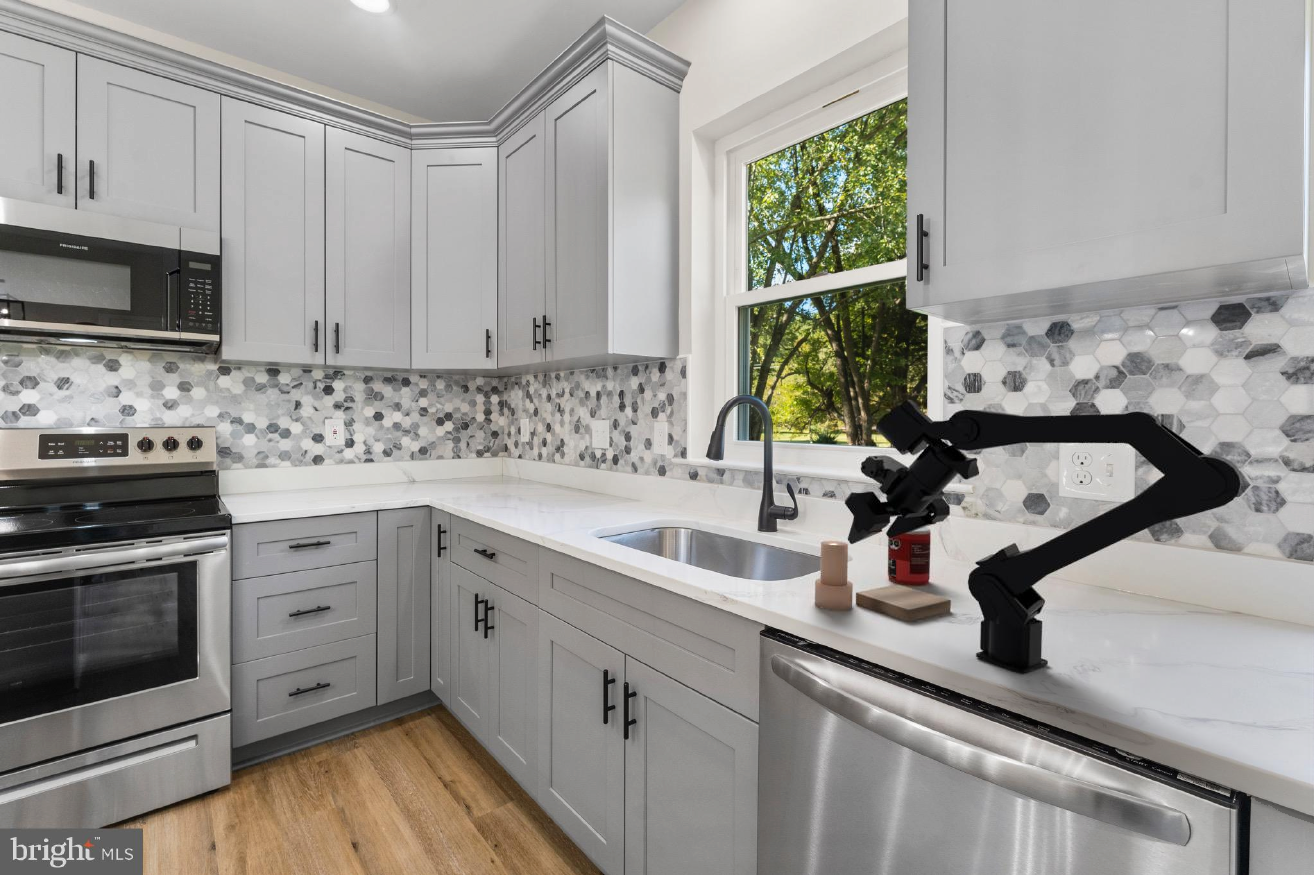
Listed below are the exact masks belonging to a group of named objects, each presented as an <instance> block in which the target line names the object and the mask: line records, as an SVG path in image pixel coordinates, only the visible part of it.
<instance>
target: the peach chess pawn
mask: <svg viewBox="0 0 1314 875" xmlns="http://www.w3.org/2000/svg"><path fill="white" fill-rule="evenodd" d="M848 555H849V544H848V543H847V542H843V541H838V540H824V541H821V542H820V578H816V580H815V581H814V605H815V604H816V605H815V606H816V607H818V608H820V607H822V608H821V609H823V608H824V609H823V610H827V609H828V610H829V611H836V612H838V611H839V612H840V611H841V612H843V611H849V610H851V609H852V608H853V590H854V589H853V588H854V587H853V586H854V584H853V583H852V582H851V581H849V580H848V574H849V573H848V568H849V567H848V562H849V560H848V558H849V556H848Z"/></svg>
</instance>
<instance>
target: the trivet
mask: <svg viewBox="0 0 1314 875" xmlns="http://www.w3.org/2000/svg"><path fill="white" fill-rule="evenodd" d="M951 602H952V600H951V599H950V598H946V597H942V596H938V595H936V594H935V595H934V594H932V593H928V592H924V591H922V590H918V589H914V588H911V587H907V586H905V585H902V584H898V583H896V584H893V585H887V586H883V587H878V588H872V589H868V590H862V591H857V592H856V593H855V604H856V605H859V606H861V607H865V608H868V609H870V610H873V611H876V612H880V613H882V614H886V615H888V616H890V617H894V618H895V619H896V618H897V619H899V620H901V621H905V622H908V623H909V622H912V621H913V622H914V621H918V620H921V619H926V618H930V617H934V616H937V615H942V614H945V613H946V614H947V613H950V612H951V609H952V608H951V605H952V603H951Z"/></svg>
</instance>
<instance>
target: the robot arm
mask: <svg viewBox="0 0 1314 875" xmlns="http://www.w3.org/2000/svg"><path fill="white" fill-rule="evenodd" d="M875 430H876V431H877V432H878V433H879V434H880V435H881V436H882V437H883V438H884V439H885V440H886V441H887V442H888V443H889V444H890V445H891V446H892V447H893V448H895V450H896V451H897V452H898V453H899V454H901V455H902V456H903V455H904V456H905V455H907V454H910V455H912V456H915V455H918V454H919V453H920V454H919V455H918V456H917V457H916V459H914V460H913V462H912V463H911V464H910V465H909V466H907V465H905V464H904V463H902V462H900V461H899V460H896V459H894V458H893V457H891V456H889V455H882V454H881V455H869V456H867V457H866V458H865V460H863V461H861V463H860V472H861V473H862V474H863V475H864V476H865V477H867V478H869V479H872V480H873V481H875V482H876V483H879V485H880V486H879V488H878V489H879V491H880V492H881V493H882V494H883V495H886V497H885V498H886V501H881V500H880V498H879V497H878V496H877V495H876V493H875V492H874V491H870V490H864V491H863V490H862V491H852V492H850V493H849V495H848V496H847V497H846V498H845V499H844V505H845V506H846V508H847V509H848V510H849V511H850V513H851V514H852V516H853V520H852V524H851V526H850V530H849V532H848V536H847V540H848V542H849V544H850V545H854V544H856V543H858V542H862V541H864V540H866V539H868V538H871V537H873V536H875V535H877V534H880V533H881V532H883V529H885V528H886V527H887V526H890V525H889V524H890V523H891V526H890V528H889V527H888V529H887V531H886V532H885V535H886V536H887V538H888V537H889V538H893V537H896V536H899V535H902V534H905V533H908V532H911V531H914V530H917V529H920V528H923V527H929V526H933V525H936V524H937V523H940V522H944V521H945V520H946V519H947V518H948V517H949V516H950V515H951V509H950V508H951V507H950V505H949V504H948V502H947V501H946V500H945V498H943V497H944V496H945V495H946V493H945V492H944V491H943V490H944V489H945V488H946V487H947V486H948V485H949V484H950V483H951V482H952V481H953V480H954V479H955V478H956V477H957V476H958V475H959V476H960V477H962V479H964V480H969V479H971V478H972V479H973V478H975V477H978V476H979V475H980V470H979V467H978V457H968V456H967V455H965V454H964V453H963V452H962V451H966V452H967V451H968V452H969V451H978V450H987V449H988V450H989V449H994V448H1000V447H1006V446H1007V447H1008V446H1012V445H1013V446H1014V445H1020V444H1126V445H1129V446H1131V448H1133V449H1135V451H1137V452H1138V453H1139V454H1140V456H1142V457H1143V458H1144V459H1146V461H1148V462H1149V463H1150V465H1152V466H1153V467H1154V468H1156V469H1157V470H1158V471H1159V472H1160V473H1162V474H1163V476H1161V477H1160V478H1159V479H1157V480H1156V481H1155V482H1153V483H1152V484H1151V485H1149V486H1148V487H1147V488H1146V489H1144V490H1143V491H1142V492H1140V493H1139V494H1138V495H1136V496H1135V497H1133V498H1132V499H1130V500H1127V501H1125V502H1123V503H1120V504H1119V505H1117V506H1115V507H1113V508H1111V509H1109V510H1107V511H1105V512H1104V513H1101V514H1099V515H1097V516H1095V517H1094V518H1091V519H1090V520H1088V521H1085V522H1084V523H1081V524H1079V525H1077V526H1075V527H1074V528H1071V529H1070V530H1068V531H1065V532H1064V533H1061V534H1060V535H1058V536H1056V537H1054V538H1052V539H1049V540H1047V541H1046V542H1044V543H1042V544H1040V545H1038V546H1036V547H1033V548H1029V549H1026V550H1020V548H1019V547H1018V545H1017V543H1015V542H1013V543H1011V544H1009V545H1007V546H1005V547H1003V548H1001V549H999V550H998V551H996V552H995V553H994V554H992V553H991V554H989V555H988V556H985V557H983V558H981V559H980V560H977V561H975V565H977V567H975V568H974V569H972V570H971V571H970V573H969V574H968V579H967V586H968V590H969V593H970V594H971V596H972V597H973V599H975V601H977V603H978V605H979V608H980V611H981V614H982V616H983V617H982V618H983V620H981V621H980V629H979V630H980V638H979V640H980V641H979V649H980V650H981V651H979V652H976V653H975V657H976V658H977V659H981V660H983V661H985V662H989V663H992V664H994V665H996V666H1000V667H1002V668H1005V669H1008V670H1011V671H1012V672H1013V671H1014V672H1017V673H1018V674H1026V673H1028V672H1032V671H1034V670H1036V669H1039V668H1041V667H1044V666H1047V665H1048V664H1049V660H1048V659H1045V658H1042V651H1043V650H1042V648H1043V647H1042V644H1043V621H1042V620H1040V619H1037V618H1036V616H1038V615H1040V613H1041V612H1042V610H1043V607H1044V606H1045V604H1046V600H1045V598H1043V597H1042V595H1041V594H1040V593H1039V592H1038V591H1037V590H1036V589H1035V588H1034V587H1033V586H1035V585H1036V584H1037V583H1038V582H1040V581H1041V580H1043V579H1044V578H1045V577H1047V576H1049V575H1051V574H1053V573H1055V572H1057V571H1059V570H1061V569H1064V568H1065V567H1068V566H1070V565H1072V564H1073V563H1076V562H1078V561H1080V560H1083V559H1085V558H1087V557H1088V556H1091V555H1093V554H1095V553H1097V552H1100V551H1102V550H1103V549H1106V548H1108V547H1110V546H1112V545H1115V544H1117V543H1119V542H1121V541H1124V540H1125V539H1127V538H1129V537H1131V536H1134V535H1136V534H1138V533H1140V532H1142V531H1144V530H1146V529H1149V528H1151V527H1153V526H1155V525H1158V524H1162V523H1165V522H1170V521H1175V520H1178V519H1183V518H1187V517H1189V516H1194V515H1196V514H1197V515H1198V514H1200V513H1204V512H1207V511H1212V510H1214V509H1218V508H1221V507H1224V506H1226V505H1227V504H1229V503H1230V502H1232V501H1234V499H1235V498H1237V496H1238V495H1239V492H1240V490H1241V488H1242V483H1243V478H1242V477H1243V476H1242V473H1241V471H1240V469H1239V468H1238V466H1237V465H1236V464H1235V463H1233V462H1232V461H1231V460H1229V459H1227V458H1226V457H1223V456H1220V455H1216V454H1215V455H1214V454H1205V453H1204V452H1203V451H1202V450H1200V449H1199V448H1197V447H1196V446H1195V445H1194V444H1192V443H1191V442H1189V440H1188V441H1187V440H1186V439H1185V438H1183V437H1182V436H1181V435H1179V434H1178V433H1176V432H1175V431H1173V430H1172V429H1171V428H1169V427H1168V426H1166V425H1165V424H1164V423H1163V422H1161V421H1160V419H1159V418H1158V417H1157V416H1156V415H1154V414H1153V413H1150V412H1145V411H1131V412H1126V413H1113V414H1111V413H1106V414H1105V413H1104V414H1067V415H1065V414H1064V415H1033V416H1032V415H1020V414H1012V413H1008V412H999V411H991V410H983V409H962V410H958V411H957V412H954V413H953V414H952V416H950V417H949V418H948V420H947V419H946V420H932V419H931V418H930V417H929V416H928V415H927V414H926V413H925V412H923V411H922V409H920V407H919V406H918V404H917V403H916V402H915V401H913V399H904V400H903V402H901V404H900V405H897V406H895V407H893V408H892V409H891V410H890V411H889V412H887V413H884V415H882V417H881V418H880V419H879V420H878V422H877V423H876V425H875ZM945 441H948V442H949V444H951V445H949V444H948V443H946V442H945ZM895 517H896V518H895ZM891 518H895V519H894V521H893V522H891Z"/></svg>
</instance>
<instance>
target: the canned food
mask: <svg viewBox="0 0 1314 875" xmlns="http://www.w3.org/2000/svg"><path fill="white" fill-rule="evenodd" d="M891 525H892V524H891ZM891 525H888V529H889V528H890V526H891ZM931 538H932V537H931V529H930V528H929V527H928V526H926V527H923V528H920V529H917V530H914V531H911V532H908V533H905V534H902V535H899V536H896V537H893V538H889V537H888V536H887V541H888V542H887V576H888V580H889V581H891V582H893V583H896V584H898V585H903V586H905V585H906V586H914V587H915V586H916V587H918V586H926V585H928V584H929V581H930V578H931V577H930V576H931V575H930V574H931V572H930V571H931V541H932V540H931Z"/></svg>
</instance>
